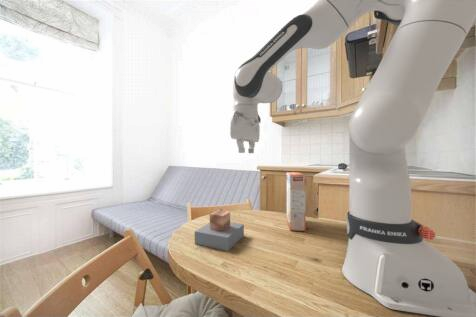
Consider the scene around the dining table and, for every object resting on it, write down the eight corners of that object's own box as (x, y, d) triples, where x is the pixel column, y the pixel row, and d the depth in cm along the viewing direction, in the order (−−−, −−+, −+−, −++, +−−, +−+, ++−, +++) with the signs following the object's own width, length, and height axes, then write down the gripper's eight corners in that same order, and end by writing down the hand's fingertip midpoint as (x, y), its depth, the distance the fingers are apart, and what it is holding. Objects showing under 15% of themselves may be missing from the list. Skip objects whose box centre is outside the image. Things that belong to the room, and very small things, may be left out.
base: (243, 235, 68) (243, 224, 68) (227, 251, 57) (227, 237, 57) (214, 230, 73) (214, 220, 73) (194, 243, 62) (194, 231, 62)
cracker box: (306, 232, 70) (306, 174, 70) (289, 231, 71) (289, 174, 71) (300, 219, 84) (300, 171, 84) (286, 219, 85) (285, 171, 85)
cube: (230, 226, 66) (230, 211, 66) (223, 231, 61) (222, 215, 61) (217, 224, 68) (217, 210, 68) (209, 229, 63) (209, 214, 63)
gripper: (242, 108, 60) (244, 152, 60) (261, 119, 79) (262, 153, 79) (224, 110, 63) (226, 153, 63) (247, 121, 81) (248, 153, 81)
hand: (246, 153), depth 71 cm, fingers open, 8 cm apart
